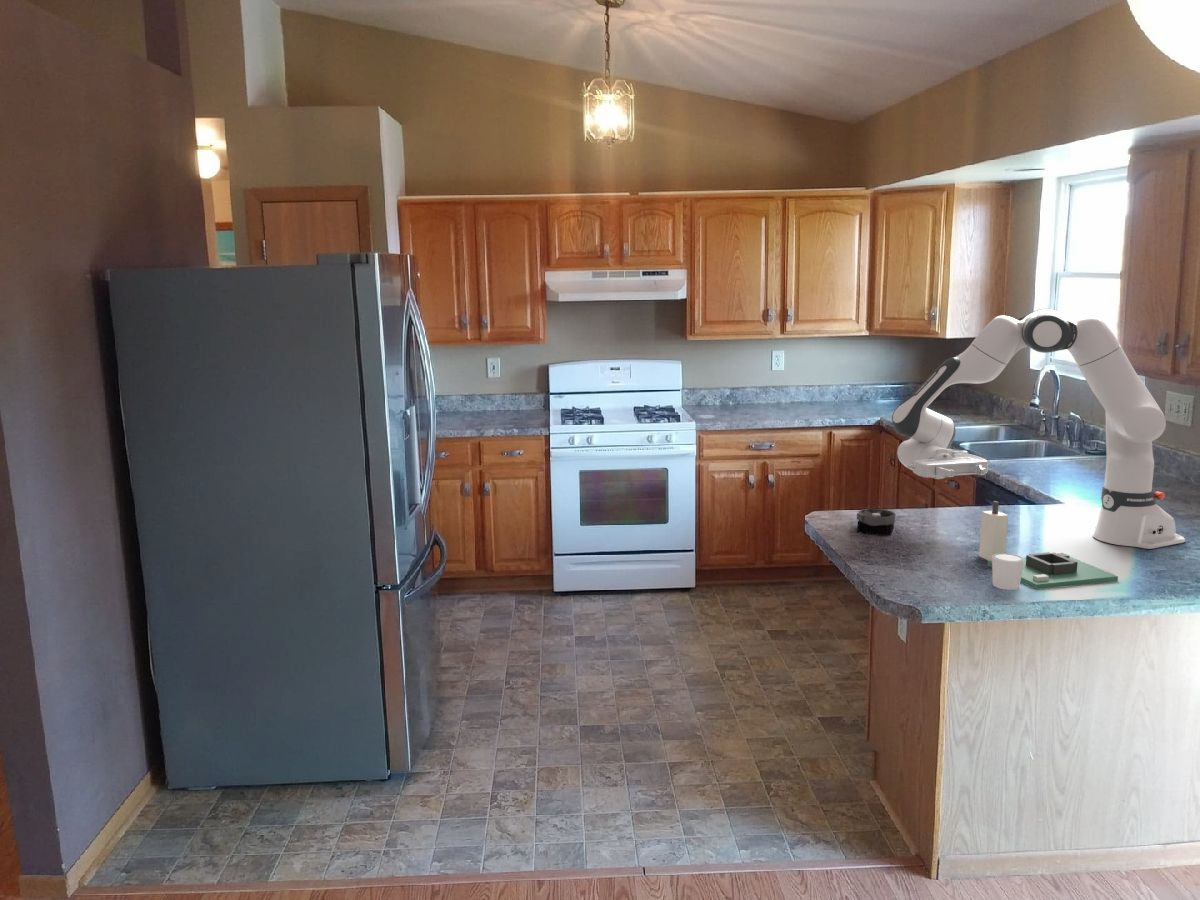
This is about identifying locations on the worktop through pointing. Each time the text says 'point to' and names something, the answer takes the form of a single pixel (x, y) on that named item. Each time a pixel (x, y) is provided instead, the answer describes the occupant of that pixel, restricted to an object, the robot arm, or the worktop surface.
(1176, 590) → the worktop surface
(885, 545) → the worktop surface
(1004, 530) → the plug
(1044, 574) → the circuit board
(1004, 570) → the white cup
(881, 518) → the cpu cooler
